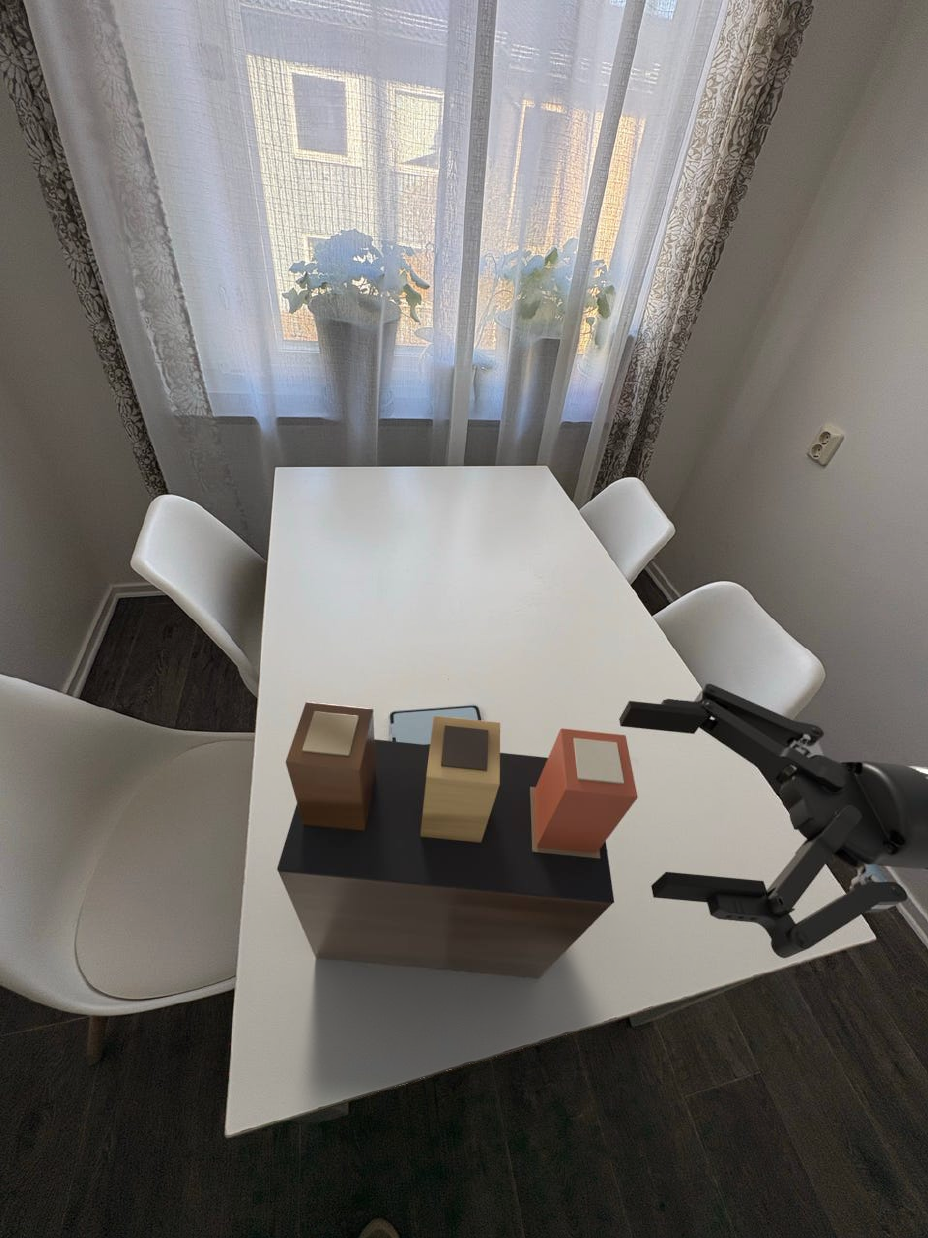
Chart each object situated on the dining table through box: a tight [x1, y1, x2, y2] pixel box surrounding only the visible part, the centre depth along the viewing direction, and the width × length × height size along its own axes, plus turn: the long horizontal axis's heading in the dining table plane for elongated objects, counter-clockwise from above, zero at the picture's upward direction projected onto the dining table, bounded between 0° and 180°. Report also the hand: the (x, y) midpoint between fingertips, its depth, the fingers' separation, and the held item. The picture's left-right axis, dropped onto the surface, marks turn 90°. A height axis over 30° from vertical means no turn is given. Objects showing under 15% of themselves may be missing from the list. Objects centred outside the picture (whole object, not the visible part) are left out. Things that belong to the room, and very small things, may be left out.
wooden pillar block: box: [420, 716, 501, 843], centre depth 40 cm, size 5×5×10 cm
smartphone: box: [388, 704, 484, 745], centre depth 81 cm, size 7×1×15 cm
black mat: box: [276, 738, 615, 905], centre depth 43 cm, size 12×26×1 cm, turn 87°
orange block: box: [534, 727, 639, 853], centre depth 40 cm, size 5×5×10 cm
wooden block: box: [285, 701, 376, 831], centre depth 39 cm, size 5×5×10 cm
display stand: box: [277, 870, 613, 980], centre depth 53 cm, size 12×26×28 cm, turn 87°
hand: (639, 788), depth 39 cm, fingers open, 13 cm apart
